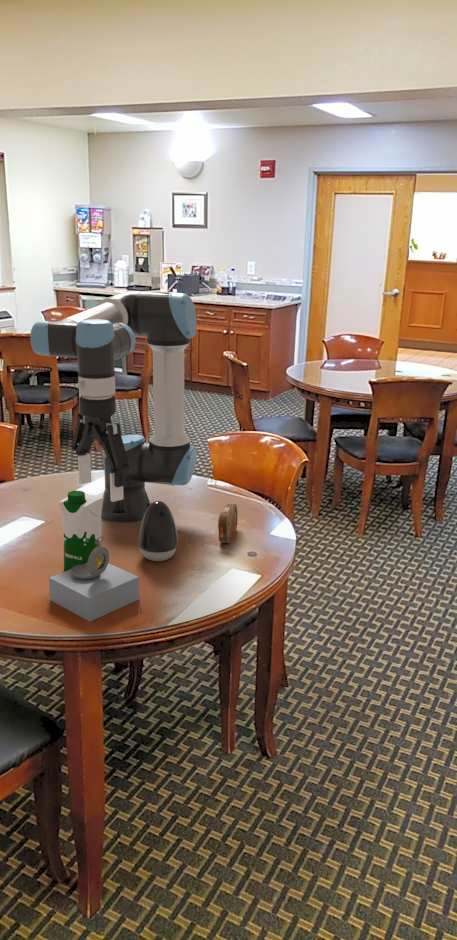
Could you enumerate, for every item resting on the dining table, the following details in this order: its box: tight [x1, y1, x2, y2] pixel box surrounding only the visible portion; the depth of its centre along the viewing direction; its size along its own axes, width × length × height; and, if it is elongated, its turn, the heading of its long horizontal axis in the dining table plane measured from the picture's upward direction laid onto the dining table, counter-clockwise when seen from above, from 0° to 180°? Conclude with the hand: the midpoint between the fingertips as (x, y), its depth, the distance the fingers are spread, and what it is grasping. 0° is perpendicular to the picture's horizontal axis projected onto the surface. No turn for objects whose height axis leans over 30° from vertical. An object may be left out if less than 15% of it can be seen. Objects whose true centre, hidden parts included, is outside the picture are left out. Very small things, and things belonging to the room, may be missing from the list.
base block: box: [48, 561, 140, 622], centre depth 162 cm, size 14×14×6 cm
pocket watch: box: [71, 536, 110, 579], centre depth 160 cm, size 8×8×10 cm
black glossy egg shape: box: [137, 500, 179, 562], centre depth 184 cm, size 10×10×15 cm
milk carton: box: [58, 490, 104, 571], centre depth 176 cm, size 9×9×20 cm
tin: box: [217, 503, 238, 544], centre depth 199 cm, size 15×3×8 cm, turn 168°
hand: (100, 491), depth 158 cm, fingers open, 13 cm apart
